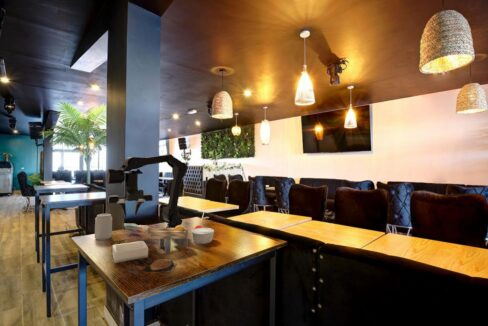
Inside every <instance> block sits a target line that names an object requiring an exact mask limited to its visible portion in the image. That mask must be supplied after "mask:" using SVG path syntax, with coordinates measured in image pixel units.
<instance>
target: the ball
mask: <svg viewBox="0 0 488 326" xmlns="http://www.w3.org/2000/svg"><path fill="white" fill-rule="evenodd" d="M182 226H183V225H178V226H176V227H175V229H174V231H183V227H184V226H183V227H182Z"/></svg>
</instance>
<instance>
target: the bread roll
mask: <svg viewBox="0 0 488 326" xmlns="http://www.w3.org/2000/svg"><path fill="white" fill-rule="evenodd" d="M176 266H177V262H174V261H173V260H170V259H166V258H158V259H153V260H151V261H150V262H148V264H147V265H146V266H145V267H144V268H143V270H142V273H146V274H147V273H148V274H149V273H152V274H153V273H154V274H155V273H156V274H157V273H163V274H164V273H173V272H174V271H175V268H176Z"/></svg>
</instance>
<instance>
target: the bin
mask: <svg viewBox="0 0 488 326" xmlns="http://www.w3.org/2000/svg"><path fill="white" fill-rule="evenodd" d="M112 258H113V262H114V264H119V263H123V262H128V261H133V260H140V259H141V260H142V259H145V258H149V247H148V245H147V244H146V242H145V241H144V240H139V241H138V240H137V241H133V242H132V241H131V242H125V243H120V244H119V243H118V244H112Z"/></svg>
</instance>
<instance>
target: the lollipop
mask: <svg viewBox="0 0 488 326" xmlns="http://www.w3.org/2000/svg"><path fill="white" fill-rule="evenodd" d="M204 214H205V211H203V213H202V216H201V218H200V219H201V220H200V224H197V225H196V226H195V227H194V228H192V230H194V229H197V228H206V227H205V226H201V225H202V221H203V220H204V219H209V218H210V217H209V216H205V215H204ZM204 216H205V217H204Z"/></svg>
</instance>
